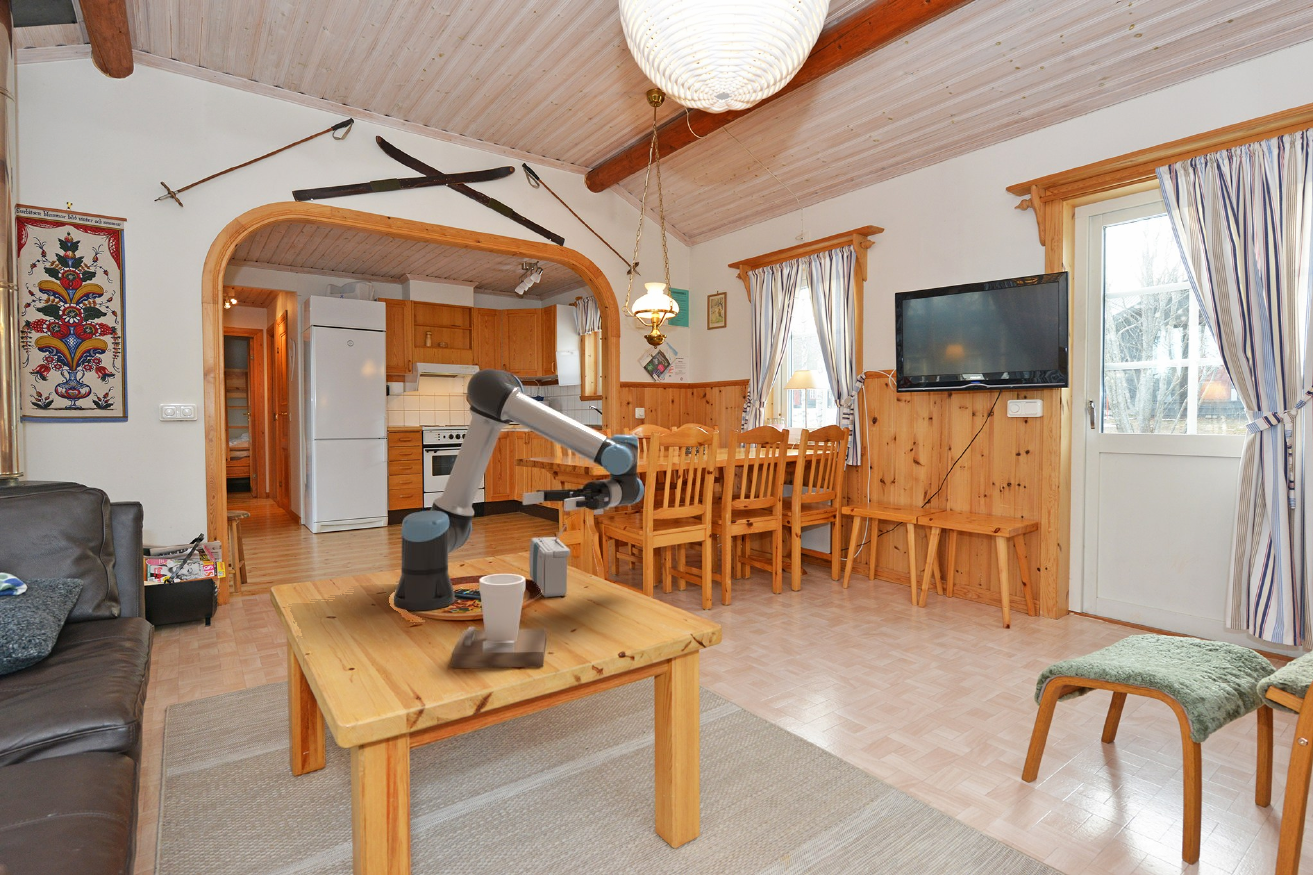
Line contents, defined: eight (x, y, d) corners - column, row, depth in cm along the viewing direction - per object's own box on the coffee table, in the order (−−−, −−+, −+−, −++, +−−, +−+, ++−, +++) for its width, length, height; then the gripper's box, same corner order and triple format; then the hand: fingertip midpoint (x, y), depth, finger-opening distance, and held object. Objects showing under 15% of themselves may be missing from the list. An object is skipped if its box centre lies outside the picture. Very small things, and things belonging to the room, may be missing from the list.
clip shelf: (451, 668, 136) (451, 643, 135) (463, 643, 150) (463, 620, 150) (543, 666, 138) (543, 642, 138) (546, 642, 152) (546, 620, 152)
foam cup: (533, 640, 144) (534, 579, 144) (495, 651, 137) (497, 587, 137) (506, 629, 150) (507, 571, 150) (469, 639, 144) (470, 578, 143)
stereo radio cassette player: (528, 580, 206) (529, 514, 205) (555, 579, 208) (556, 514, 208) (540, 599, 186) (542, 526, 185) (570, 597, 189) (572, 525, 188)
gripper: (638, 514, 174) (583, 524, 156) (565, 503, 188) (507, 511, 170) (639, 484, 173) (584, 491, 156) (565, 476, 187) (508, 481, 170)
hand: (543, 502), depth 163 cm, fingers open, 13 cm apart
